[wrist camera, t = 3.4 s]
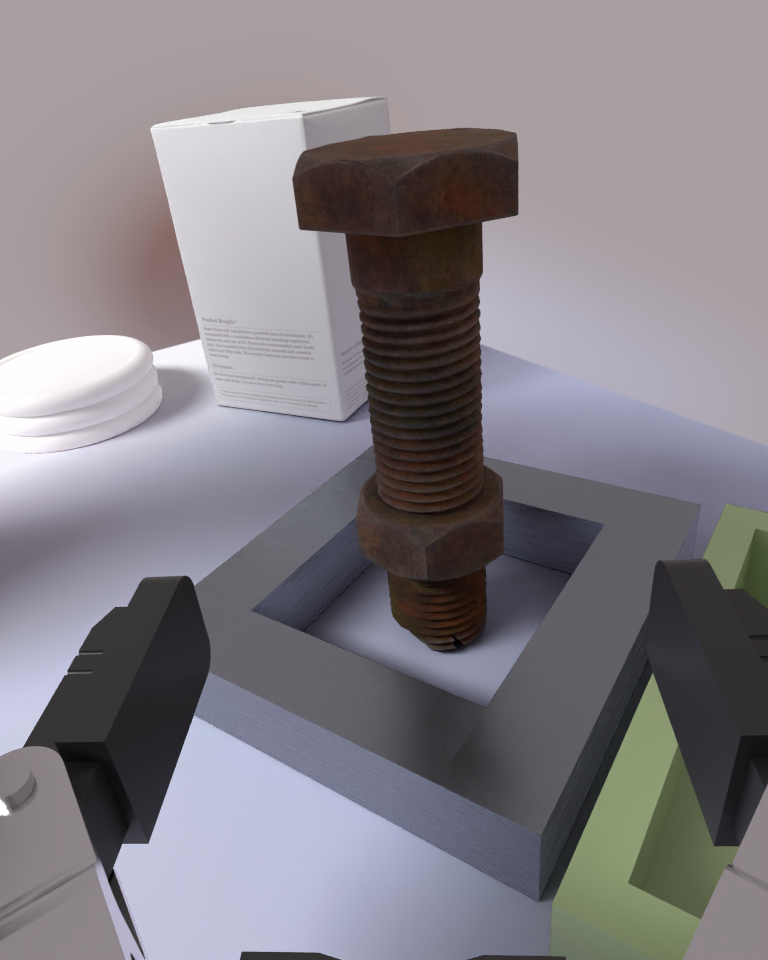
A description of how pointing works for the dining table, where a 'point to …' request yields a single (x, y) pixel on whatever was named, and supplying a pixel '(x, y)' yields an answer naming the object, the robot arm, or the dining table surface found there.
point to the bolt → (421, 355)
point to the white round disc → (75, 393)
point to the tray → (653, 813)
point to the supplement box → (267, 255)
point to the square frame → (429, 710)
